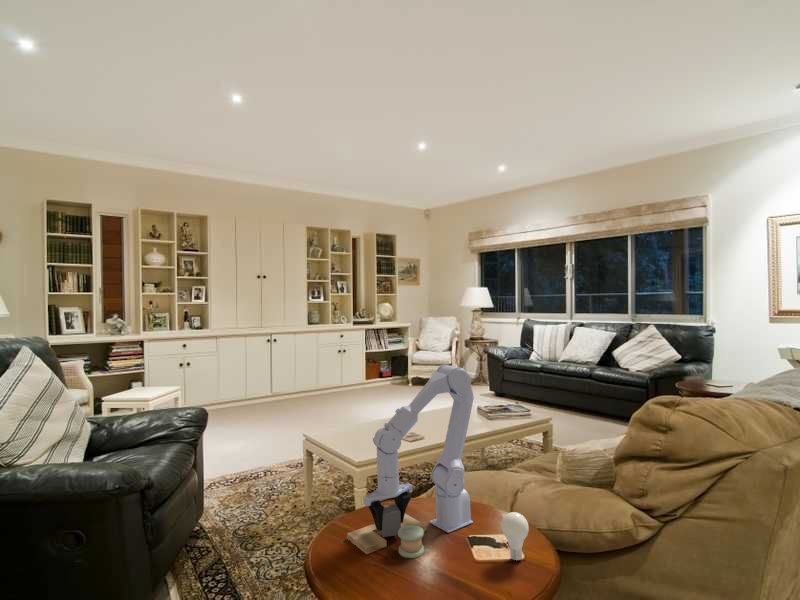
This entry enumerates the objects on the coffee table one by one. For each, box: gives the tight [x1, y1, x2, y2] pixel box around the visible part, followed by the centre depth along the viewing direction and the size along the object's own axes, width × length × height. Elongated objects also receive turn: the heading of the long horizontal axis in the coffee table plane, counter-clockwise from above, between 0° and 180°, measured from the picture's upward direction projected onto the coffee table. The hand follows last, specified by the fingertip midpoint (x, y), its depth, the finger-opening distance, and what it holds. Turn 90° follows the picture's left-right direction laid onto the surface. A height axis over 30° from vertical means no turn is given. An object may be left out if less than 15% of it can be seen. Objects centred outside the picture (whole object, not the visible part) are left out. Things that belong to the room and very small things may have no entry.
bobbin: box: [397, 525, 425, 559], centre depth 116 cm, size 6×6×5 cm
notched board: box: [346, 513, 427, 555], centre depth 125 cm, size 19×10×2 cm, turn 125°
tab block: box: [380, 503, 401, 538], centre depth 124 cm, size 5×5×6 cm
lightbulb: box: [500, 511, 530, 562], centre depth 111 cm, size 6×6×11 cm
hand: (389, 525), depth 124 cm, fingers closed on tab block, 6 cm apart
